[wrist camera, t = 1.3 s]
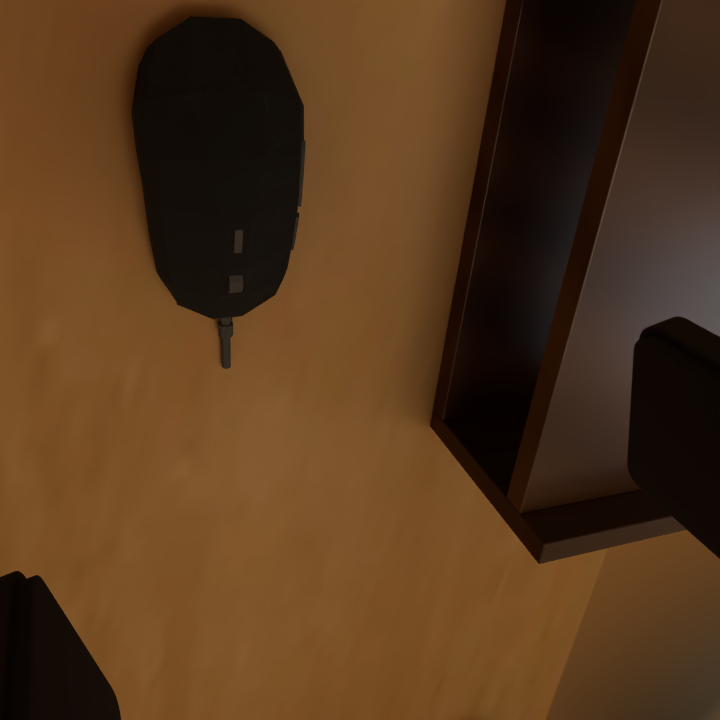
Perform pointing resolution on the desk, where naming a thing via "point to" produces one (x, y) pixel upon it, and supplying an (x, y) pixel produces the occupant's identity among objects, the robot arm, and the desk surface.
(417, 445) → the desk surface
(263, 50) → the gaming mouse
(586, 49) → the shelf
